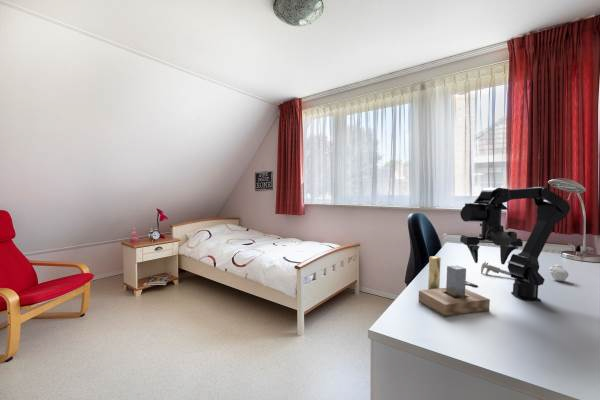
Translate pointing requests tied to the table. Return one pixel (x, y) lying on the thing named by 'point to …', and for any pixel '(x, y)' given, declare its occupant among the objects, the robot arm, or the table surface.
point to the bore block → (453, 302)
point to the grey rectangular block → (456, 281)
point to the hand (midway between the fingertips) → (489, 263)
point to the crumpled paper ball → (558, 272)
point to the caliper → (493, 269)
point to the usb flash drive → (471, 284)
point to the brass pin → (434, 272)
